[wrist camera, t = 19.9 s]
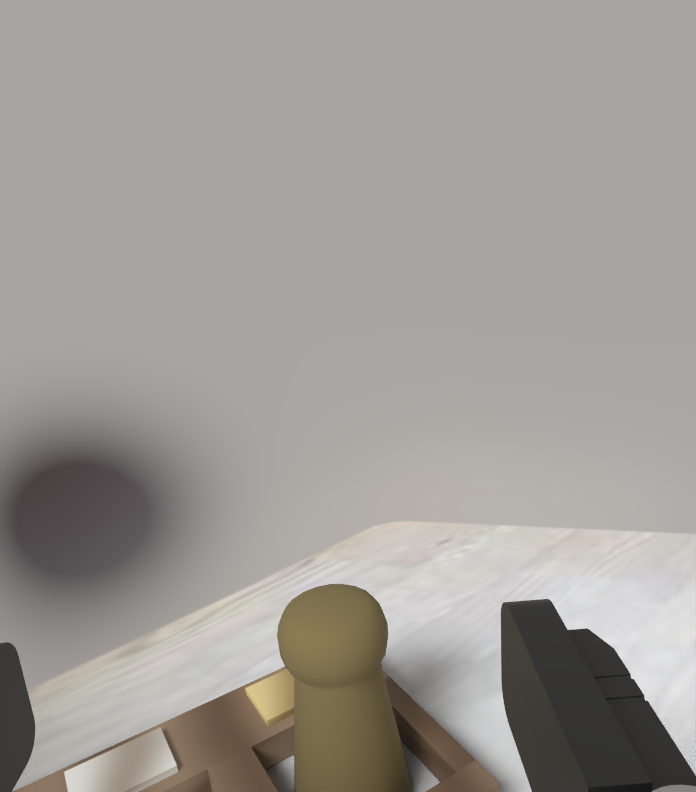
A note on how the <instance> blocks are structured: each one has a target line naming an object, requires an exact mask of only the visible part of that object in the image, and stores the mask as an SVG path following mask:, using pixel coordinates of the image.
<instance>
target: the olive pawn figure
mask: <svg viewBox="0 0 696 792" xmlns="http://www.w3.org/2000/svg"><path fill="white" fill-rule="evenodd" d="M277 636H278V643H279V649H280V655H281V658H282V660H283V662H284V664H285V666H286V668H287V669H288V671H289V672H290V673H291V675H292V676H293V677H294V792H412V780H411V777H410V773H409V769H408V765H407V762H406V758H405V754H404V750H403V747H402V743H401V739H400V735H399V731H398V728H397V724H396V720H395V716H394V713H393V709H392V705H391V701H390V698H389V694H388V690H387V686H386V682H385V679H384V675H383V671H382V667H381V664H380V663H381V661H382V659H383V658H384V656H385V653H386V647H387V639H388V627H387V621H386V618H385V616H384V613H383V611H382V609H381V606H380V604H379V603H378V602H377V601H376V600H375V598H374V597H373V596H371V595H370V594H369V593H368V592H367V591H366V590H363V589H361V588H358V587H356V586H350V585H344V584H329V585H324V586H319V587H316V588H313V589H310V590H308V591H305V592H303V593H302V594H300V595H299V596H297V597H296V598H294V599H293V600H292V601H291V602H290V603H289V604H288V605H287V607H286V608H285V610H284V612H283V614H282V617H281V620H280V622H279V625H278V634H277Z"/></svg>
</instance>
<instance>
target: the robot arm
mask: <svg viewBox="0 0 696 792" xmlns="http://www.w3.org/2000/svg"><path fill="white" fill-rule="evenodd" d="M501 664H502V691H503V699H504V705H505V710H506V715H507V719H508V722H509V725H510V728H511V731H512V734H513V737H514V740H515V743H516V746H517V749H518V752H519V755H520V757H521V760H522V763H523V766H524V769H525V772H526V775H527V778H528V781H529V784H530V787H531V790H532V792H696V776H695V774H694V772H693V771H692V769H691V768H690V766H689V765H688V763H687V762H686V760H685V758H684V757H683V755H682V754H681V752H680V751H679V749H678V748H677V746H676V744H675V743H674V741H673V740H672V738H671V737H670V735H669V734H668V732H667V730H666V729H665V727H664V726H663V724H662V723H661V721H660V720H659V718H658V716H657V715H656V713H655V712H654V710H653V709H652V707H651V706H650V704H649V702H648V701H645V699H644V695H643V693H642V691H641V690H640V688H639V687H638V685H637V684H636V682H635V681H634V679H631V676H630V673H629V671H628V670H627V668H626V667H625V665H624V663H623V662H622V660H621V659H620V657H619V656H618V654H617V653H616V651H615V649H614V648H612V647H611V646H610V645H608V644H607V643H606V642H604V641H603V640H602V639H600V638H599V637H598V636H597V635H595V634H594V633H593V632H591V631H590V630H589V629H577V630H567V628H566V627H565V625H564V623H563V621H562V620H561V618H560V616H559V614H558V612H557V611H556V609H555V607H554V605H553V604H552V602H551V601H550V600H549V599H543V600H530V601H517V602H504V603H503V604H502V608H501ZM34 738H35V721H34V716H33V712H32V708H31V704H30V700H29V696H28V692H27V688H26V684H25V680H24V676H23V672H22V668H21V665H20V661H19V656H18V653H17V651H16V649H15V647H14V646H13V645H12V644H10V643H0V792H12V790H13V788H14V787H15V785H16V783H17V781H18V779H19V778H20V776H21V774H22V772H23V770H24V769H25V767H26V765H27V763H28V761H29V758H30V756H31V753H32V749H33V745H34Z"/></svg>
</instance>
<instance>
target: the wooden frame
mask: <svg viewBox="0 0 696 792" xmlns="http://www.w3.org/2000/svg"><path fill="white" fill-rule="evenodd" d="M382 671H383V670H382ZM383 675H384V679H385V682H386V686H387V690H388V694H389V698H390V701H391V705H392V709H393V713H394V716H395V720H396V724H397V728H398V731H399V735H400V739H401V740H402V741H403V742H404V743H405V744H406V745H407V746H408V747H409V748H410V749H411V751H412V752H413V753H414V754H415V755H416V756H417V757H418V758H419V759H420V760H421V761H422V762H423V764H424V765H425V766H426V767H427V768H428V769H429V770H430V771H431V772H432V773H433V774H434V775H435V777H436V778H437V779H438V780H439V781H440V783H439V784H437V785H436V786H434V787H432V788H431V789H429V790H428V791H426V792H501V790H500V783H499V782H498V781H497V780H496V779H495V778H494V777H493V776H492V775H491V774H490V773H488V772H487V771H486V770H485V769H484V768H483V767H482V766H481V765H480V764H479V763H478V762H477V761H476V760H475V759H474V758H473V757H472V756H471V755H470V754H469V753H468V752H467V751H466V750H465V749H464V748H463V747H462V746H461V745H460V744H458V743H457V742H456V741H455V740H454V739H453V738H452V737H451V736H450V735H449V734H448V733H447V732H446V731H445V730H444V729H443V728H442V727H441V726H440V725H439V724H438V723H437V722H436V721H435V720H434V719H433V718H432V717H431V716H429V715H428V714H427V713H426V712H425V711H424V710H423V709H422V708H421V707H420V706H419V705H418V704H417V703H416V702H415V701H414V700H413V699H412V698H411V697H410V696H409V695H408V694H407V693H406V692H405V691H404V690H403V689H402V688H401V687H399V686H398V685H397V684H396V683H395V682H394V681H393V680H392V679H391V678H390V677H389V676H388V675H387V674H386V673H385V672H384V671H383ZM293 754H294V677H293V676H292V675H291V673H290V672H289V671H288V669H287V668H286V667H284V668H281V669H279V670H277V671H275V672H273V673H270V674H268V675H266V676H264V677H262V678H260V679H257V680H255V681H253V682H251V683H249V684H246V685H244V686H242V687H240V688H238V689H236V690H233V691H231V692H229V693H227V694H225V695H223V696H220V697H218V698H216V699H214V700H212V701H209V702H207V703H205V704H203V705H201V706H199V707H196V708H194V709H192V710H190V711H188V712H186V713H183V714H181V715H179V716H177V717H175V718H172V719H170V720H168V721H166V722H164V723H162V724H159V725H157V726H155V727H153V728H151V729H148V730H146V731H144V732H142V733H140V734H138V735H135V736H133V737H131V738H129V739H127V740H125V741H122V742H120V743H118V744H116V745H114V746H111V747H109V748H107V749H105V750H103V751H101V752H98V753H96V754H94V755H92V756H90V757H88V758H85V759H83V760H81V761H79V762H77V763H74V764H72V765H70V766H68V767H66V768H64V769H61V770H59V771H57V772H55V773H53V774H51V775H48V776H46V777H44V778H42V779H40V780H37V781H35V782H33V783H31V784H29V785H27V786H24V787H22V788H20V789H18V790H16V791H13V792H278V791H277V789H276V788H275V786H274V784H273V783H272V781H271V779H270V778H269V776H268V774H267V773H266V771H265V769H267V768H269V767H271V766H273V765H275V764H276V763H278V762H280V761H282V760H284V759H286V758H288V757H290V756H291V755H293Z"/></svg>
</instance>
